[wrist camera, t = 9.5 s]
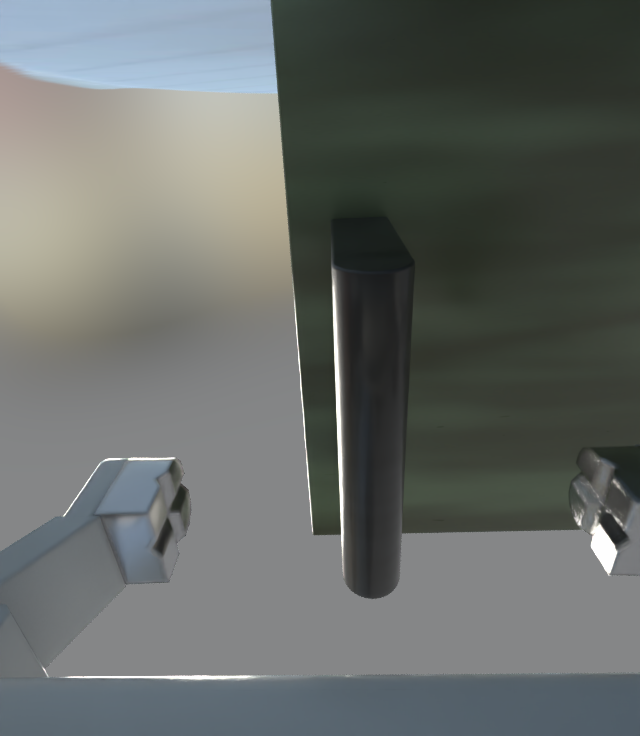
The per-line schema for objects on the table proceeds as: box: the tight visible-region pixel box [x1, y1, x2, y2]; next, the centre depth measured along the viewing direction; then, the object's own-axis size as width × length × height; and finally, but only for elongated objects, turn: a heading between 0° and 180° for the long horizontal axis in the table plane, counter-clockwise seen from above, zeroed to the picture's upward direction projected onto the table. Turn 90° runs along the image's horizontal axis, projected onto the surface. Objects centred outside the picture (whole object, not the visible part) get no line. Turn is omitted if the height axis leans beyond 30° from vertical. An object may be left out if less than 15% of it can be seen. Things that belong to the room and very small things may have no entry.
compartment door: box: [271, 0, 640, 599], centre depth 12 cm, size 6×18×18 cm, turn 91°
